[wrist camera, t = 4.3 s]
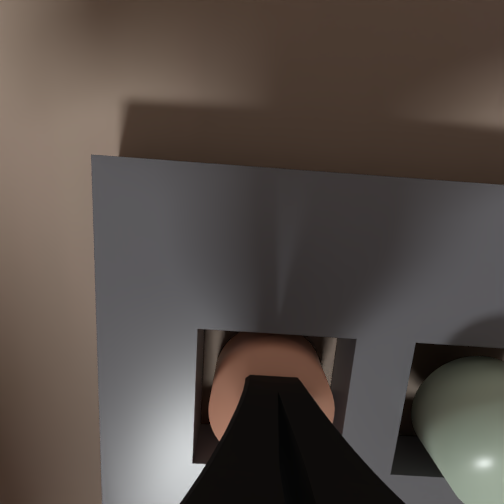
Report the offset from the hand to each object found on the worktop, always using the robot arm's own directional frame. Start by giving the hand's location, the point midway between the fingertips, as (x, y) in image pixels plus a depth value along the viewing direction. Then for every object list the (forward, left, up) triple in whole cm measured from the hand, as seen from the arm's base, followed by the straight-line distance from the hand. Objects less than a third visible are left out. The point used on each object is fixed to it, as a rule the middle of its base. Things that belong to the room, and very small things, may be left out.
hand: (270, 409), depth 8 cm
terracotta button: (0, 0, -2) cm, 2 cm away
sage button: (-5, 0, 0) cm, 6 cm away
